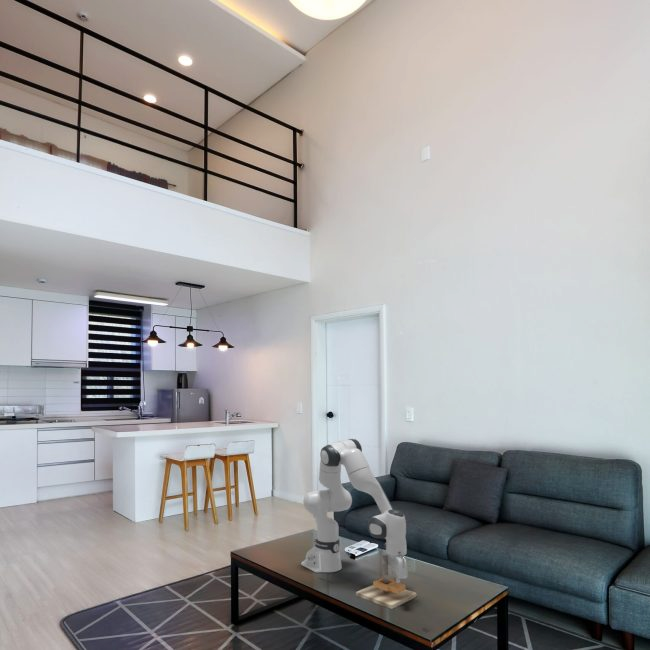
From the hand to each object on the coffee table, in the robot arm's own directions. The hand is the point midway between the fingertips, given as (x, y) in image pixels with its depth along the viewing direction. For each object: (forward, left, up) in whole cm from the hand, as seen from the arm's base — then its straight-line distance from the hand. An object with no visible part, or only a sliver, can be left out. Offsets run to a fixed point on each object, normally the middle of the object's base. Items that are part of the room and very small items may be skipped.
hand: (397, 581), depth 220 cm
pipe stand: (-6, 0, -8) cm, 10 cm away
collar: (-4, 0, -3) cm, 5 cm away
